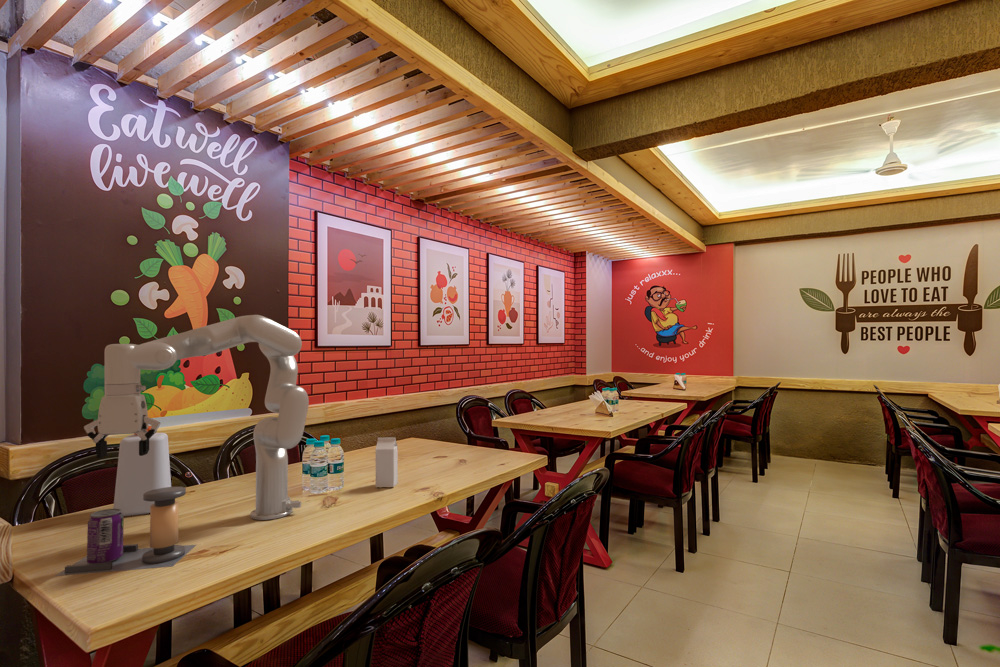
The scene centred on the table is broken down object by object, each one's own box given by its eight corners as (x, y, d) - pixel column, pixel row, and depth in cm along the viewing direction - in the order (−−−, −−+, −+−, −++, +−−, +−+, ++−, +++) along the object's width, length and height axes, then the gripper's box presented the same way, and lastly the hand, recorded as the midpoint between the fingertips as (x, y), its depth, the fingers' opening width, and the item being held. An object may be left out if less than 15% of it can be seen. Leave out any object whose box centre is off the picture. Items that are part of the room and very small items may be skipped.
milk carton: (393, 488, 193) (393, 439, 193) (375, 488, 193) (375, 439, 194) (397, 483, 200) (397, 435, 201) (380, 483, 200) (380, 436, 201)
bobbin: (191, 548, 132) (191, 485, 132) (175, 562, 123) (176, 495, 123) (153, 551, 130) (154, 487, 131) (134, 565, 121) (135, 497, 122)
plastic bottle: (109, 519, 160) (110, 431, 161) (123, 506, 173) (124, 425, 174) (164, 512, 166) (166, 428, 167) (174, 500, 179) (175, 422, 181)
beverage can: (130, 555, 127) (130, 508, 128) (105, 567, 120) (106, 517, 121) (104, 554, 128) (105, 507, 128) (78, 566, 121) (79, 516, 121)
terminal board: (197, 549, 134) (197, 538, 134) (172, 571, 120) (172, 560, 120) (92, 556, 130) (92, 546, 130) (54, 580, 116) (55, 569, 116)
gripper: (165, 388, 136) (166, 451, 135) (94, 390, 133) (94, 455, 132) (152, 390, 129) (152, 457, 128) (75, 393, 125) (75, 461, 125)
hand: (122, 455), depth 130 cm, fingers open, 9 cm apart
